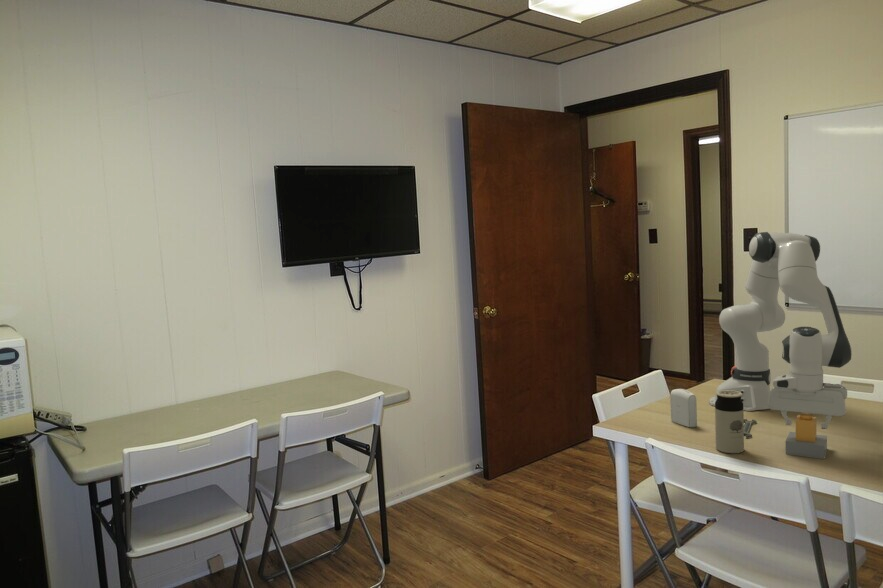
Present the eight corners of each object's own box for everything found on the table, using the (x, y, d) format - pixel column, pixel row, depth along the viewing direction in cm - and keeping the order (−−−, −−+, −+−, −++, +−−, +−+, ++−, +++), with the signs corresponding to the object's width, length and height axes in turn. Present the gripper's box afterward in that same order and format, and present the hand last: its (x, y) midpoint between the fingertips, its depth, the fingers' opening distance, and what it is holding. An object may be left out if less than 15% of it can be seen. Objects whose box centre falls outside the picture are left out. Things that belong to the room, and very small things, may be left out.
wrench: (751, 440, 206) (757, 423, 223) (751, 435, 206) (756, 418, 223) (735, 439, 209) (742, 423, 226) (734, 434, 209) (741, 418, 226)
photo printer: (669, 421, 230) (668, 387, 229) (678, 419, 231) (677, 385, 230) (689, 428, 220) (688, 393, 219) (699, 426, 222) (698, 391, 221)
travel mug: (712, 445, 202) (711, 390, 201) (738, 445, 201) (737, 389, 200) (720, 454, 194) (719, 396, 193) (747, 453, 193) (747, 395, 192)
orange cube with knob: (795, 439, 192) (795, 415, 191) (797, 434, 196) (797, 411, 195) (814, 441, 189) (814, 417, 188) (816, 437, 193) (816, 413, 193)
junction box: (785, 453, 192) (785, 426, 191) (789, 444, 200) (789, 417, 199) (824, 459, 186) (824, 430, 185) (826, 448, 194) (826, 421, 193)
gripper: (847, 382, 188) (847, 428, 189) (770, 376, 199) (770, 419, 201) (846, 387, 182) (846, 434, 184) (767, 381, 194) (767, 425, 195)
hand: (806, 426), depth 192 cm, fingers open, 8 cm apart
